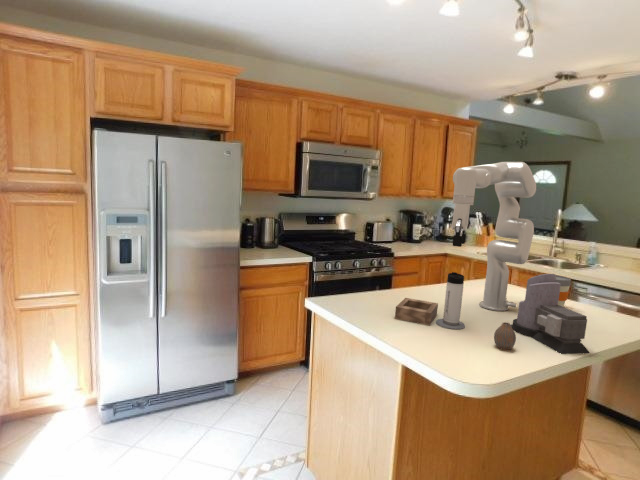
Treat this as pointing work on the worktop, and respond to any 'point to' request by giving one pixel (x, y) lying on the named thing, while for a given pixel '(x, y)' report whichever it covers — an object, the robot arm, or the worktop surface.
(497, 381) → the worktop surface
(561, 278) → the reusable coffee cup
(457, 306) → the travel mug
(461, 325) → the rubber coaster
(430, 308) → the brown wooden tray
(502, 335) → the vase
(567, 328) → the juicer
